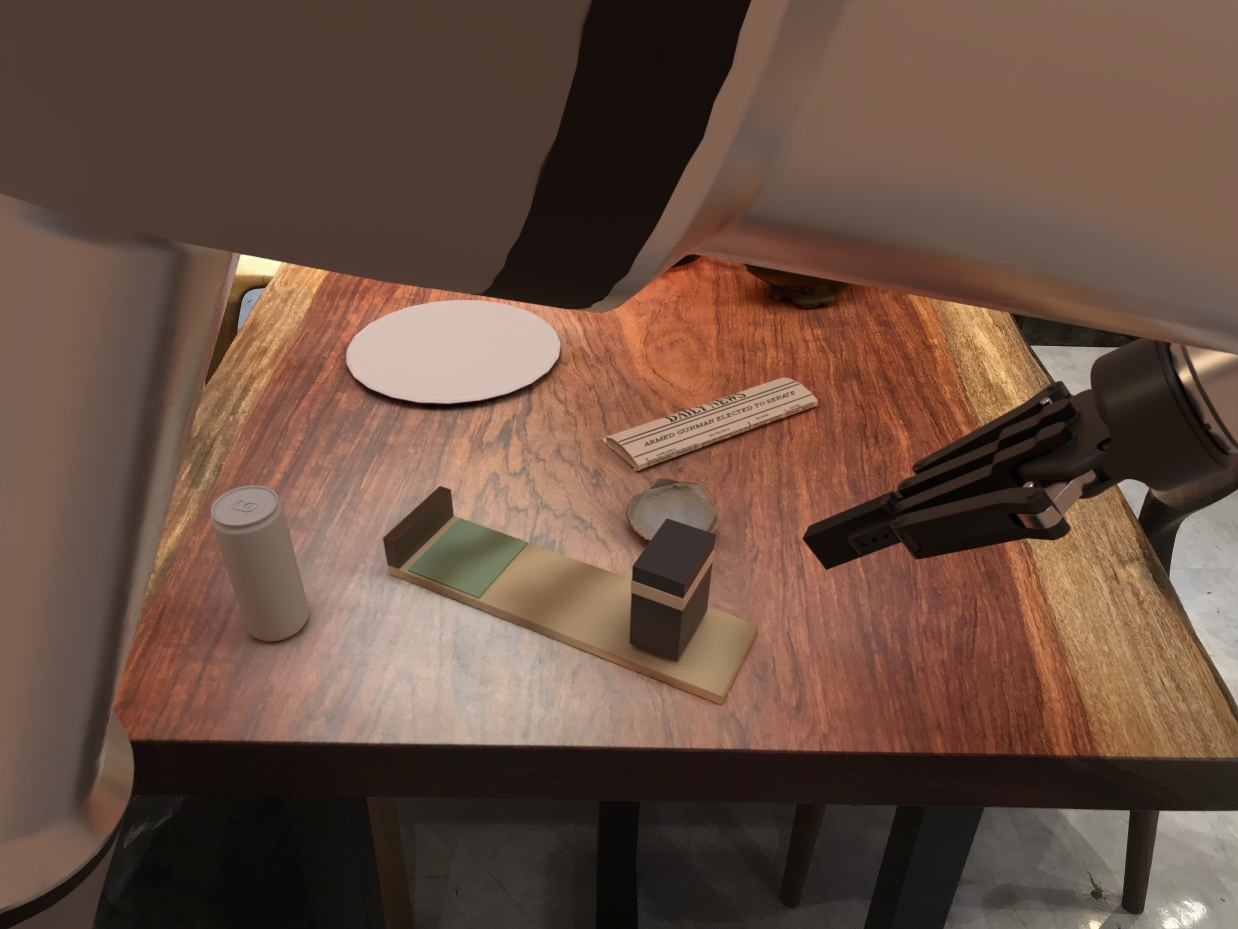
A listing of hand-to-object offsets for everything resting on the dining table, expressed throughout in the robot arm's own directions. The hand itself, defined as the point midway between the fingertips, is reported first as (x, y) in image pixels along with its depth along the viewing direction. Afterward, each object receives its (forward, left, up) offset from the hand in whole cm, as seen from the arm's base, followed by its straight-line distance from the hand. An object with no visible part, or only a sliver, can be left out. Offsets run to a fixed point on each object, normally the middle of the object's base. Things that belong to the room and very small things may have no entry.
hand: (817, 547), depth 59 cm
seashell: (+15, +13, -14) cm, 24 cm away
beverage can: (-6, +40, -14) cm, 42 cm away
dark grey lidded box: (+2, +10, -12) cm, 16 cm away
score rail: (+3, +19, -14) cm, 23 cm away
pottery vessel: (+69, +7, -14) cm, 71 cm away
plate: (+38, +45, -14) cm, 60 cm away
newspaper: (+33, +13, -14) cm, 38 cm away
